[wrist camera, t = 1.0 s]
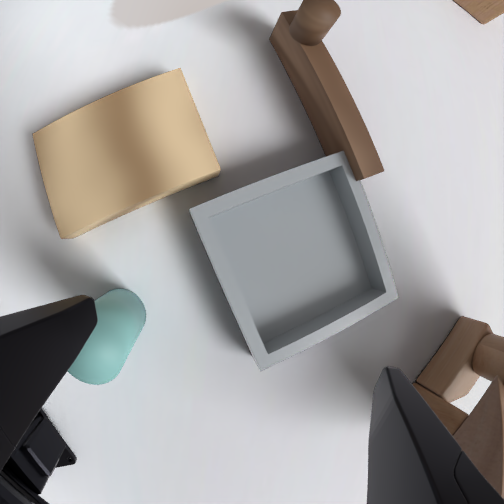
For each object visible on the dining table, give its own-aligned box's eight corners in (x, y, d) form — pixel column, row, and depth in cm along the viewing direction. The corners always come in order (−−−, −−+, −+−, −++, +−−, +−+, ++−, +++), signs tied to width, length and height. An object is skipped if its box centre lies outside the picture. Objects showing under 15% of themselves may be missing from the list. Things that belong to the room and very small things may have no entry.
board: (75, 238, 18) (61, 238, 16) (47, 143, 18) (32, 133, 15) (217, 177, 20) (220, 169, 17) (181, 85, 19) (180, 67, 17)
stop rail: (335, 188, 21) (389, 171, 14) (265, 40, 19) (290, -16, 13) (360, 178, 21) (418, 160, 15) (291, 35, 20) (322, -18, 13)
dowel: (111, 344, 19) (78, 392, 12) (89, 299, 18) (44, 329, 11) (154, 327, 19) (137, 371, 12) (132, 280, 19) (102, 303, 12)
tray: (252, 356, 20) (260, 371, 18) (189, 212, 19) (189, 209, 17) (379, 291, 22) (398, 297, 19) (331, 158, 21) (347, 149, 18)
